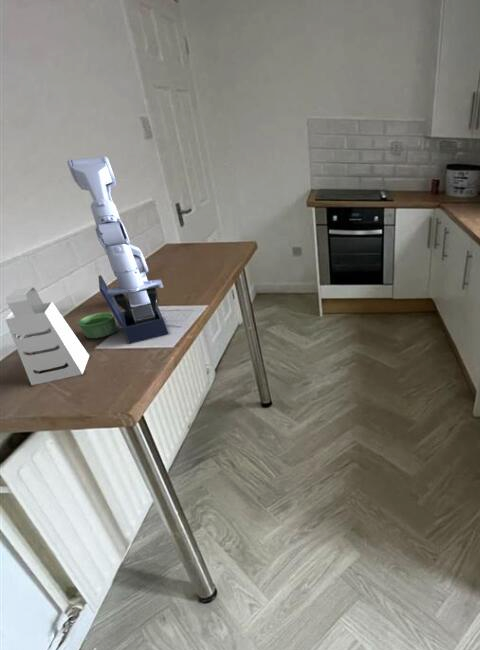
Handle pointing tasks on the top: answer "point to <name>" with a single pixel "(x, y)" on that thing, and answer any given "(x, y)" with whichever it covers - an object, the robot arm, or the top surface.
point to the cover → (110, 301)
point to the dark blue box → (143, 327)
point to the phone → (143, 314)
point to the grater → (43, 338)
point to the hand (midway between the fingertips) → (144, 316)
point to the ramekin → (98, 325)
